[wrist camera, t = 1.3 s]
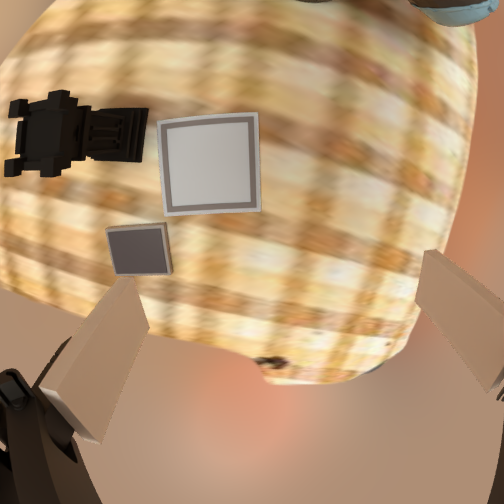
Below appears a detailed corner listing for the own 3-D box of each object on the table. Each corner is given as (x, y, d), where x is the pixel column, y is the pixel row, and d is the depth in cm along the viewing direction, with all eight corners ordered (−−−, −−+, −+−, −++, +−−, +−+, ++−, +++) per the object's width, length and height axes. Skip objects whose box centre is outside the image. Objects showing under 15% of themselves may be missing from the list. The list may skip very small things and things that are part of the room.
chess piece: (96, 160, 35) (2, 181, 16) (102, 109, 32) (8, 98, 13) (141, 162, 35) (56, 182, 17) (148, 108, 32) (66, 84, 14)
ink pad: (108, 226, 39) (104, 229, 37) (165, 222, 39) (162, 225, 37) (118, 272, 42) (114, 276, 40) (172, 271, 42) (170, 275, 40)
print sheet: (157, 121, 33) (156, 120, 33) (257, 112, 33) (258, 112, 33) (164, 216, 38) (164, 216, 38) (260, 211, 38) (261, 211, 38)
